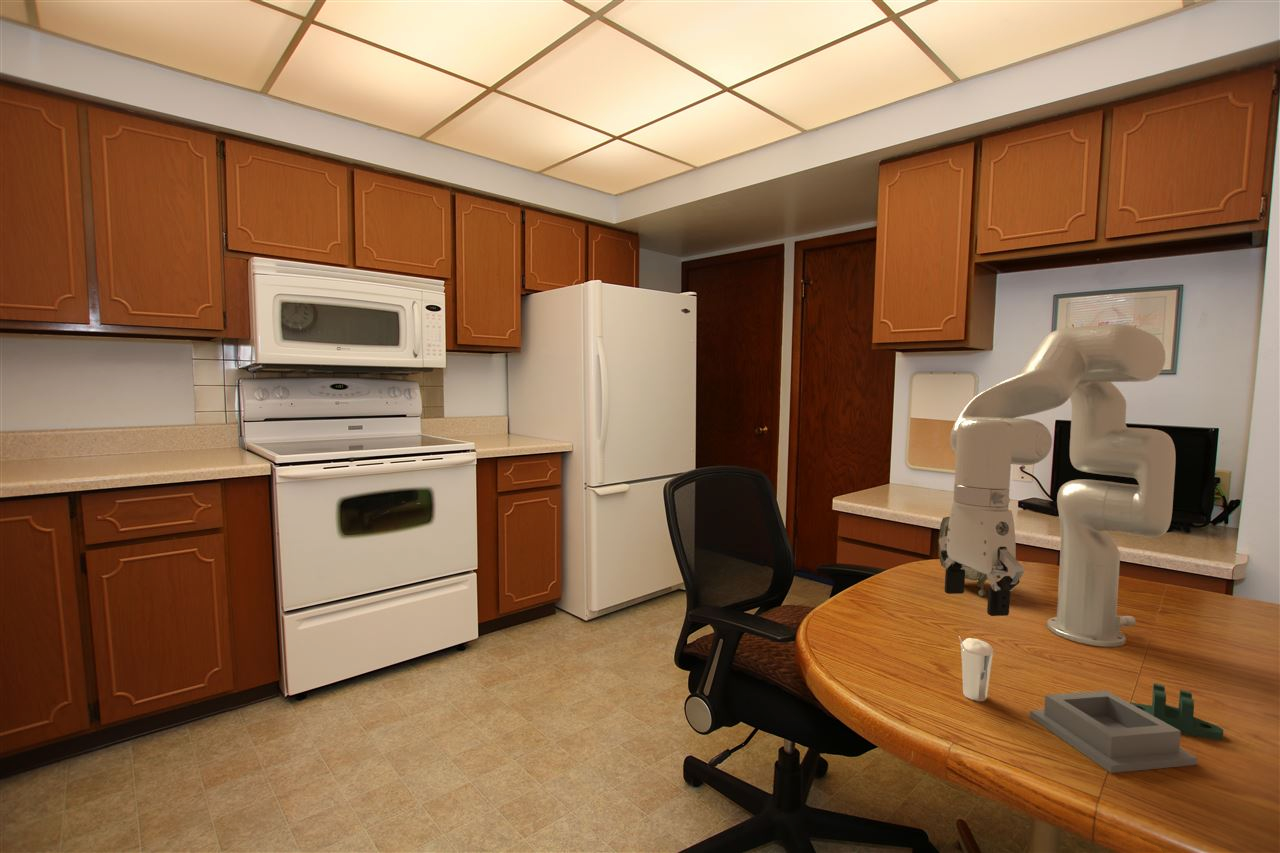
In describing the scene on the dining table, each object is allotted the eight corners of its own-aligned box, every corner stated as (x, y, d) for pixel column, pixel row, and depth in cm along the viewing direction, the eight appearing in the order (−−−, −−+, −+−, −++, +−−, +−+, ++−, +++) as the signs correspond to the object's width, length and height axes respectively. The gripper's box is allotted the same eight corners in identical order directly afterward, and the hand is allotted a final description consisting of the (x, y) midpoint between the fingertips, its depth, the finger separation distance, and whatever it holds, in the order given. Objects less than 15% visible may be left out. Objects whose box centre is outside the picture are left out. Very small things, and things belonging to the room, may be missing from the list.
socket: (1104, 710, 89) (1106, 685, 89) (1196, 764, 76) (1198, 735, 76) (1029, 716, 87) (1031, 691, 87) (1110, 773, 75) (1112, 743, 74)
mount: (1220, 731, 84) (1222, 698, 84) (1225, 746, 81) (1227, 711, 80) (1123, 705, 91) (1124, 674, 91) (1123, 717, 88) (1125, 685, 87)
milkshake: (947, 689, 95) (950, 630, 95) (978, 688, 96) (981, 629, 95) (965, 704, 91) (968, 642, 90) (997, 703, 91) (1000, 641, 91)
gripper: (1047, 507, 83) (1040, 624, 84) (964, 488, 100) (959, 585, 101) (1000, 507, 82) (994, 625, 83) (924, 488, 99) (919, 586, 100)
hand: (974, 603), depth 92 cm, fingers open, 9 cm apart
